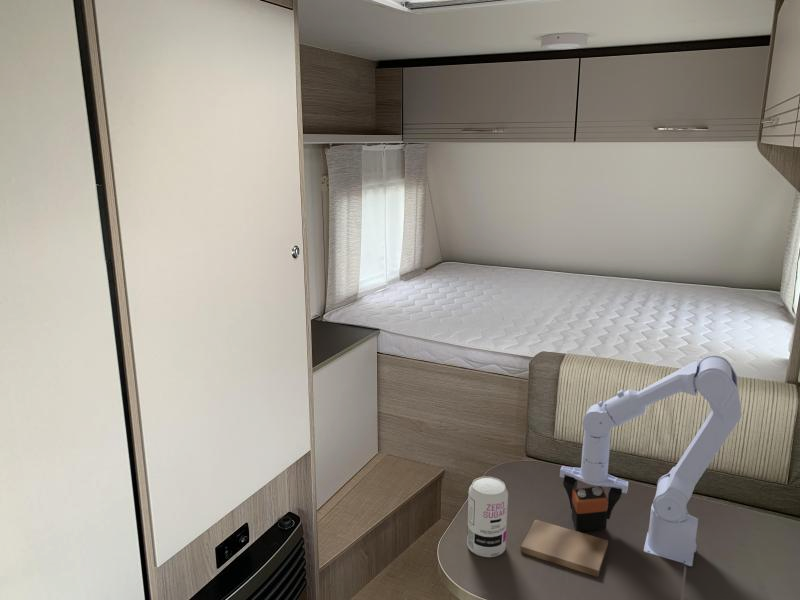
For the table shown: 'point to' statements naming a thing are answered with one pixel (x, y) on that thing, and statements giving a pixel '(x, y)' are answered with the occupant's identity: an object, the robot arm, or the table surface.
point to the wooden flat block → (565, 547)
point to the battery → (589, 508)
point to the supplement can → (487, 517)
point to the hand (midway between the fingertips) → (590, 511)
